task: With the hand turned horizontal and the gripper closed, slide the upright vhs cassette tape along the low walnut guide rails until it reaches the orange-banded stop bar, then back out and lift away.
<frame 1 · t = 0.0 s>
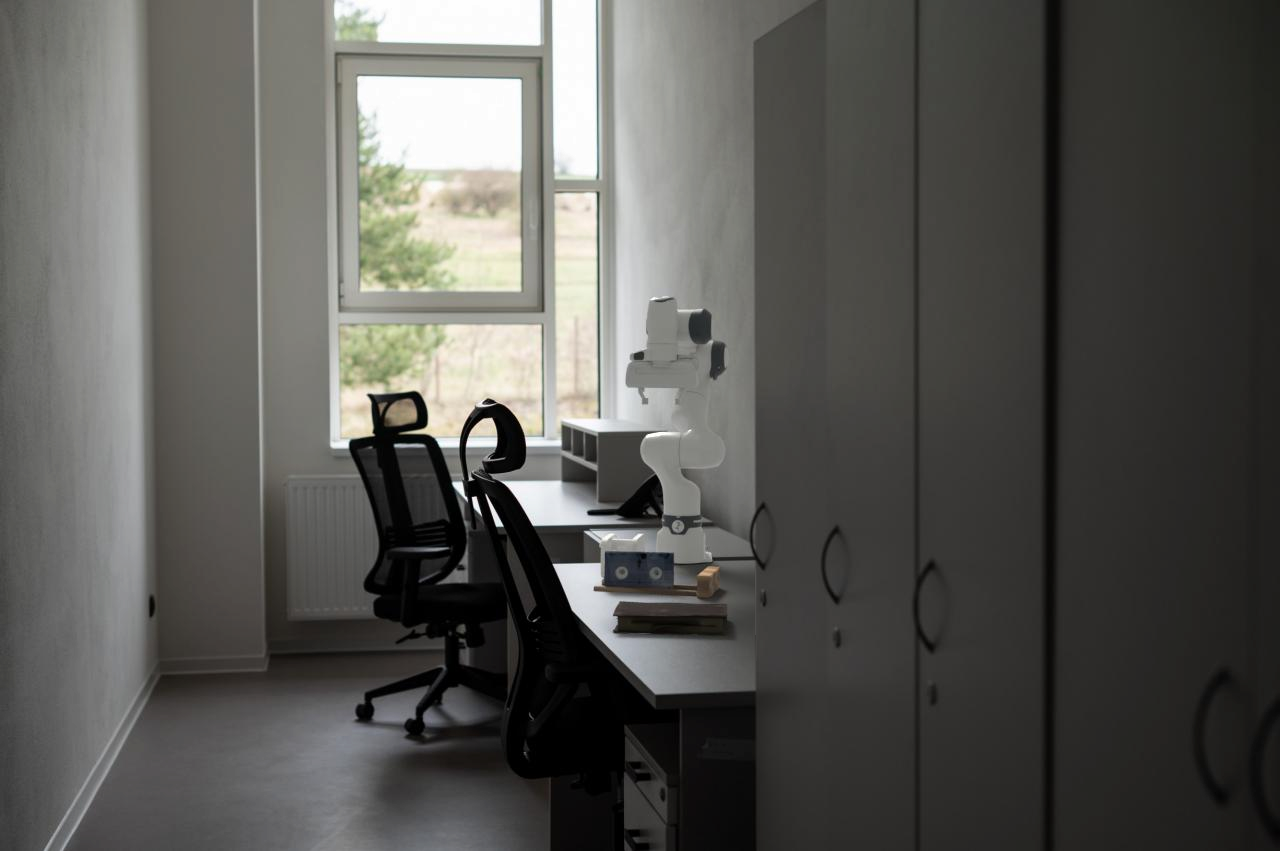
hand: (661, 404, 350), 48 cm above the table, tool pointing down, fingers open, 8 cm apart
diary: (671, 629, 284), on the table
vhs cassette tape: (639, 590, 332), resting in guide track
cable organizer: (622, 578, 352), on the table
guide track: (642, 589, 332), on the table
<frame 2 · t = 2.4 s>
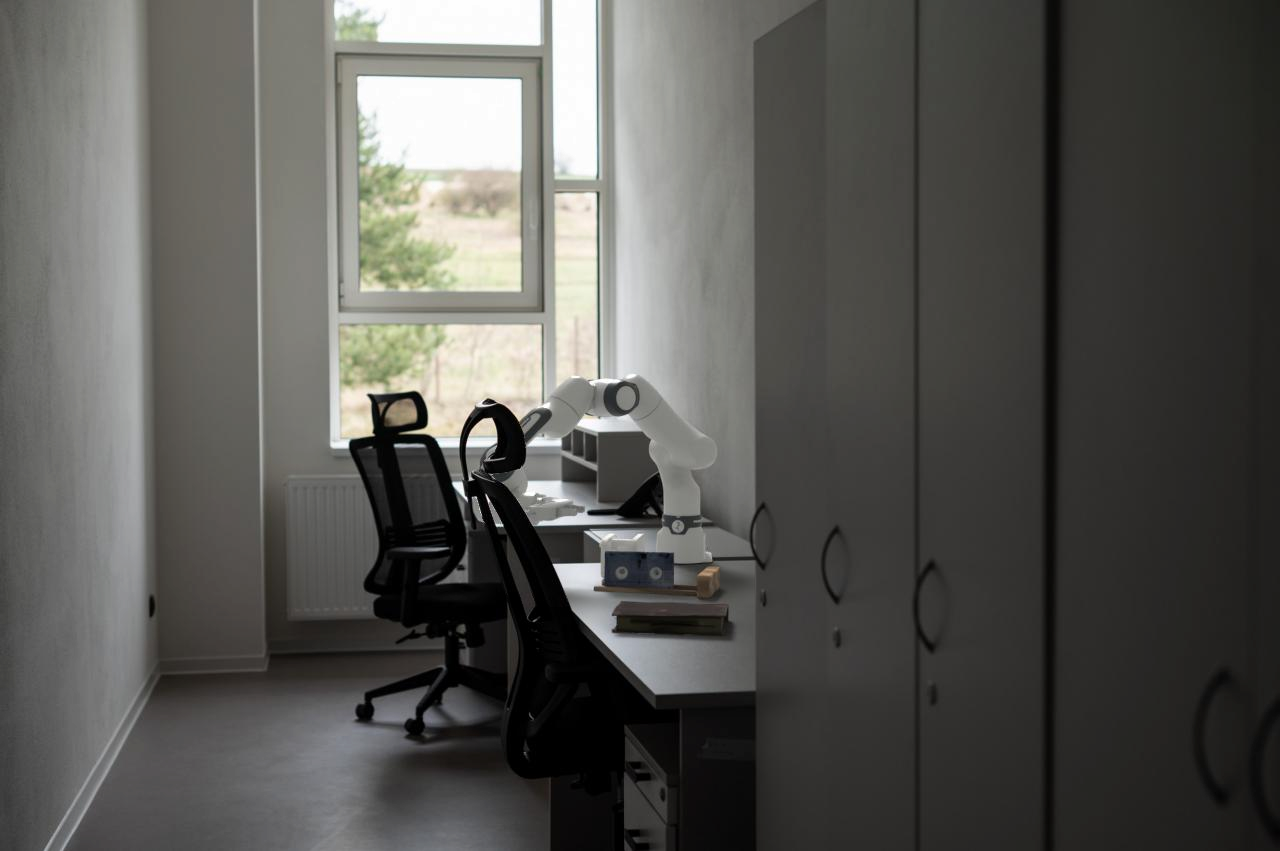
hand: (580, 511, 335), 20 cm above the table, tool horizontal, fingers open, 6 cm apart
nothing on the table moved.
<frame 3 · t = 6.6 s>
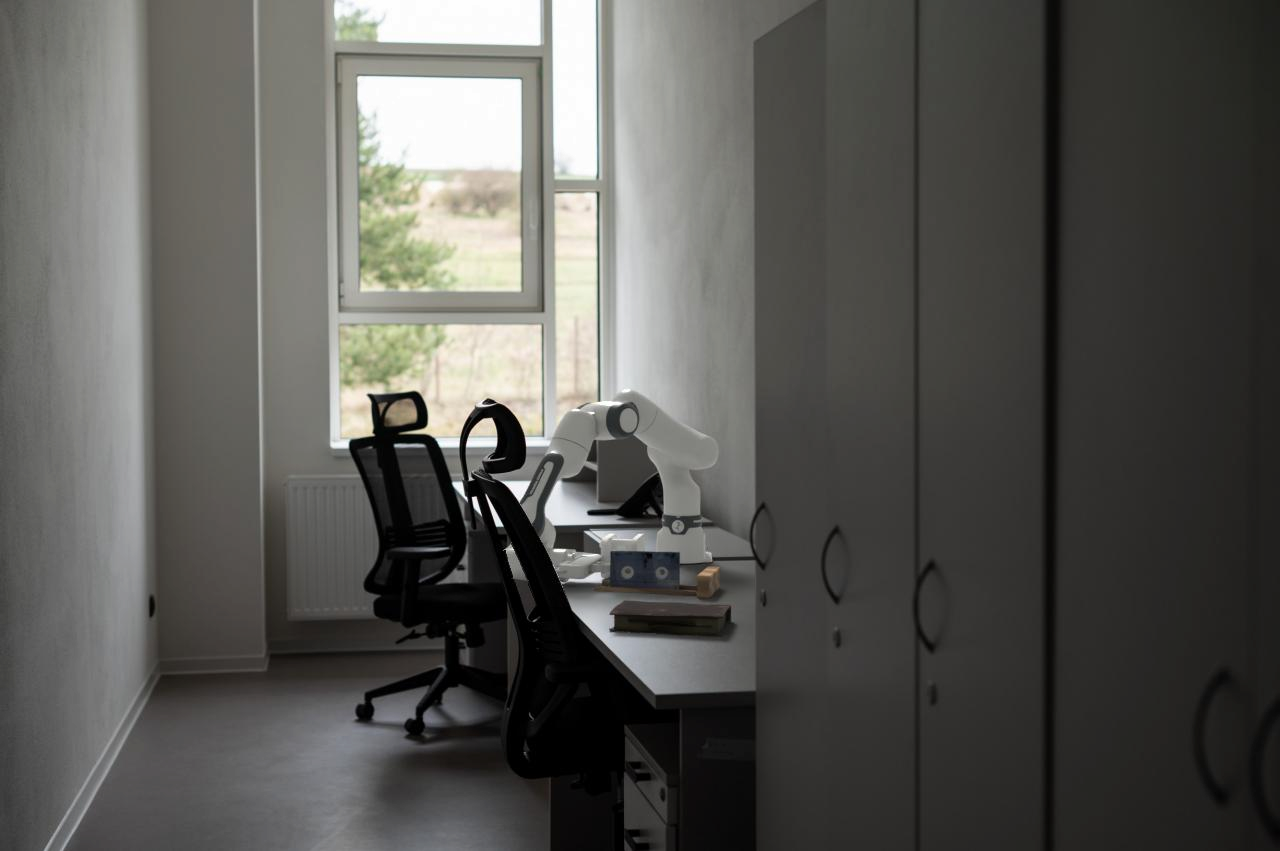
hand: (611, 567, 334), 5 cm above the table, tool horizontal, fingers closed
vhs cassette tape: (644, 590, 332), resting in guide track, touching gripper
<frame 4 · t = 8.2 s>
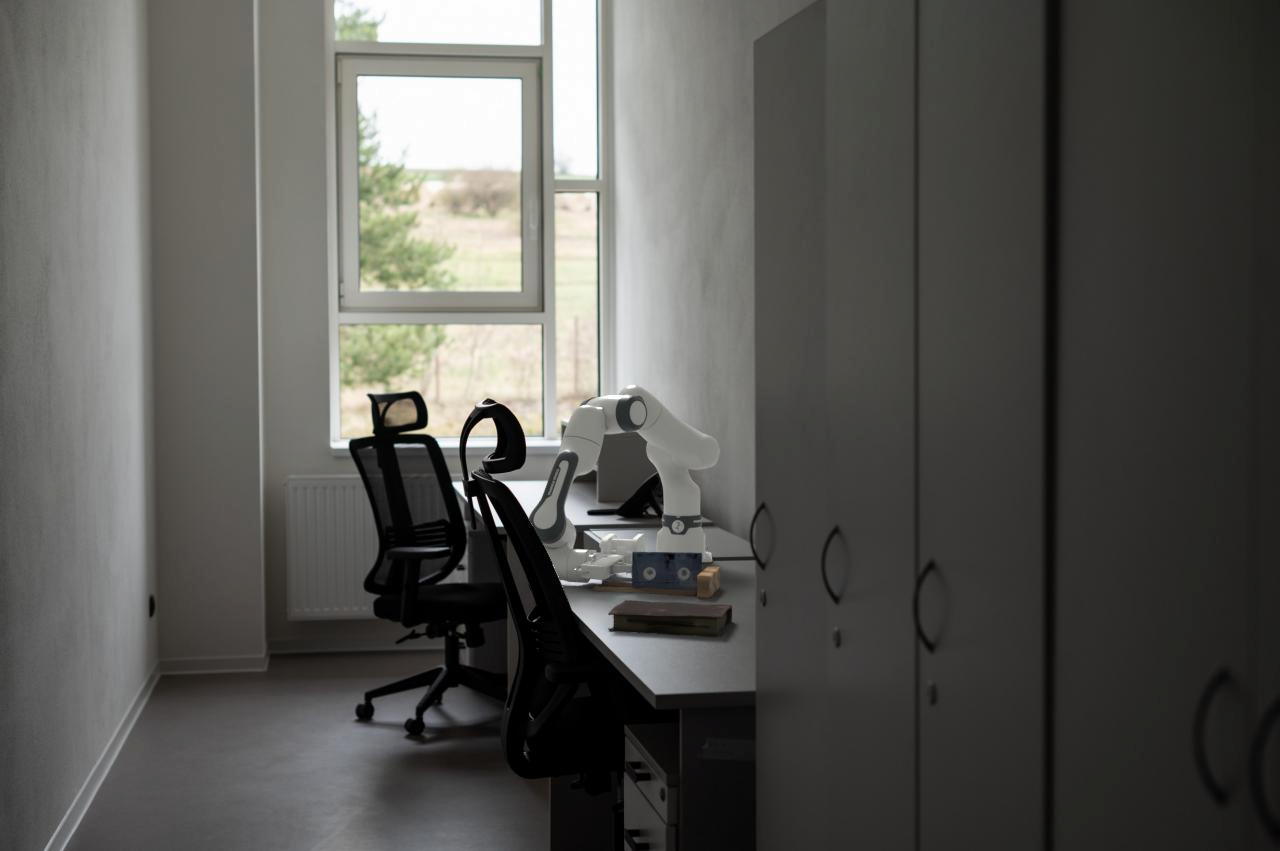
hand: (632, 568, 332), 5 cm above the table, tool horizontal, fingers closed
vhs cassette tape: (666, 591, 331), resting in guide track, touching gripper
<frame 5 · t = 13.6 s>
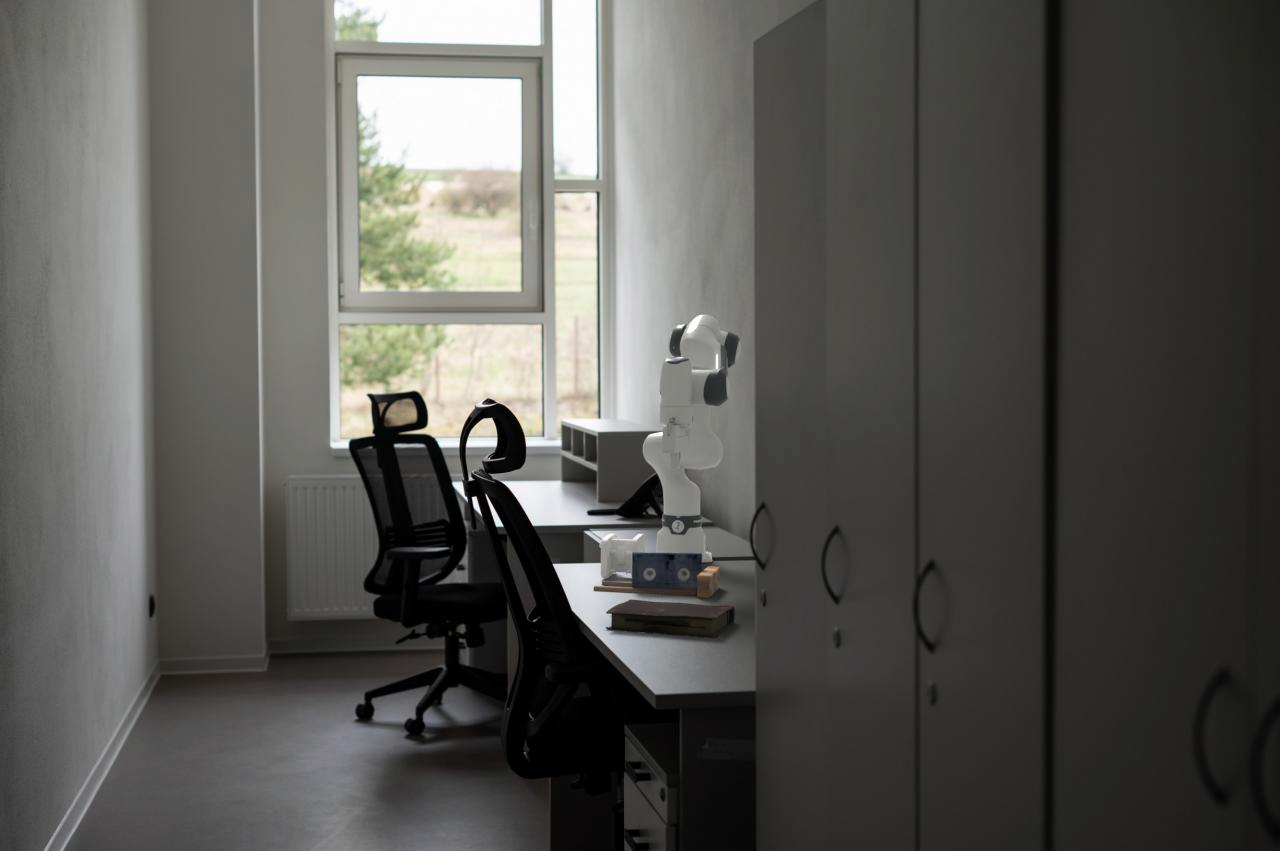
hand: (675, 468, 341), 31 cm above the table, tool pointing down, fingers closed
vhs cassette tape: (666, 591, 331), resting in guide track
at the end: vhs cassette tape 0.4 cm from the target spot, resting in guide track; vhs cassette tape tilted 0°; the gripper is holding nothing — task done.
